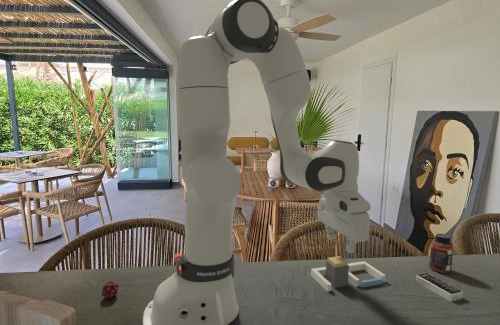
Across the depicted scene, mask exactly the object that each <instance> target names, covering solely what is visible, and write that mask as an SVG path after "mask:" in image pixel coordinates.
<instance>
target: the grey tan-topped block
mask: <svg viewBox="0 0 500 325" xmlns="http://www.w3.org/2000/svg"><path fill="white" fill-rule="evenodd" d="M325 261H326V263H325V264H326V265H325V267H326V276H325V279H326V280H328V281H329V282H330V283H331V284H332V286H331V288H332V289H335V288H342V287H343V288H344V287H347V286H348V285H349V281H348V273H349V265H348V264H349V262H348V261H347V260H345V259H344V258H343V257H342V256H332V257H327V260H325Z"/></svg>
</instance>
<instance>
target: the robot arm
mask: <svg viewBox="0 0 500 325" xmlns="http://www.w3.org/2000/svg"><path fill="white" fill-rule="evenodd" d="M245 59H248V60H250V61H251V62H252V63H253V64H254V65H255V67H256V69H257V70H258V72H259V76H260V78H261V84H263V85H262V86H263V89H264V91H265V92H264V93H265V95H266V99H267V101H268V105H269V112H270V118H271V123H272V127H273V130H274V134H275V138H276V142H277V145H278V149H279V150H278V151H279V155H280V156H279V159H280V160H279V171H280V174H281V177H282V178H283V180H285V182H286V183H288V184H290V185H292V186H293V185H294V186H299V187H302V188H306V189H308V190H311V191H315V192H323V193H322V194H321V195H320V199H319V200H318V207H317V218H318V220H319V221H320V222H321V223H322V224H324V228H325V231H326V239H328V240H329V241H334V240H335V239H336V233H334V230H335V231H336V232H337V233H340V234H341V235H343V236H345V237H346V238H347V241H348V244H346V245H345V251H346V252H347V253H349V254H353V253H354V252H355V249H356V248H355V247H356V246H357V243H362V242H366V241H368V239H369V237H370V231H371V230H370V228H371V221H370V220H371V219H370V218H371V217H370V214H369V213H368V212H369V211H371V204H370V202H368V201H367V200H366V198H364V197H363V196H362V194H361V193H360V192H359V186H358V176H359V171H360V156H359V150H358V146H357V145H356V144H355V143H354V142H351V141H345V140H340V139H339V140H338V139H337V140H336V139H332V140H329V141H328V143H327V144H326V145H325V146H323V148H321V149H319V150H317V151H315V152H314V153H311V152H307V151H305V149H304V148H303V147H302V144H301V141H300V136H299V132H298V127H297V120H296V119H297V115H298V114H299V112H300V111H301V110H302V109H303V108H305V106H306V104H307V103H308V101H309V100H310V97H311V94H312V90H311V81H310V77H309V73H308V70H307V67H306V64H305V61H304V57H303V55H302V53H301V51H300V48H299V47H298V44H297V42H296V40H295V39H294V36H293V34H292V33H291V31H289V30H288V29H286V28H282V27H279V24H278V22H277V21H276V19H275V18H274V15H273V14H272V12H271V10H270V9H269V8H268V5H267V4H266V3H265V2H263V1H262V0H233V1H231V2H230V3H229V4H227V6H226V8H224V9H223V10H222V11H221V12H220V13H219V14H218V15H217V16H216V17H215V19H214V20H213V22H212V23H211V25H210V26H209V27H208V29H207V31H206V33H205V36H204V35H198V36H192V37H189V38H188V39H186V40H184V42H183V43H182V44H181V46H180V50H179V55H178V67H177V86H178V87H177V89H178V105H179V119H180V156H181V157H180V161H181V162H180V164H181V177H182V179H183V182H184V183H185V186H186V187H185V189H186V206H185V207H186V208H185V209H186V210H185V211H186V212H185V222H184V238H185V239H184V242H185V243H184V244H185V248H184V249H185V250H184V251H185V254H184V255H182V253H181V252H177V253H175V254H174V256H173V261H174V263H176V272H174V273H173V274H172V275H170V276H169V277H168V278H167V279H165V280H164V281H163V282H161V283H160V284H159V285H158V286H157V289H156V290H155V293H154V296H153V299H152V300H151V301H150V302H149V303H148V304H147V305H146V307H145V309H144V311H143V314H142V325H229V324H230V323H231V322H233V321H234V320H235V319H236V318H237V316H238V314H239V310H240V308H239V304H238V301H237V300H238V299H237V296H236V293H235V292H236V291H235V286H234V285H235V283H234V276H235V254H234V253H233V221H234V215H235V210H236V206H237V198H238V197H237V196H238V194H239V192H240V190H241V177H240V173H239V171H238V169H237V167H236V165H235V163H234V162H233V161H232V160H231V159H230V158H228V157H227V147H228V138H229V130H230V126H231V115H230V114H231V111H230V91H229V75H228V74H229V67H230V65H232V64H236V63H238V62H240V61H241V60H245Z"/></svg>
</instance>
